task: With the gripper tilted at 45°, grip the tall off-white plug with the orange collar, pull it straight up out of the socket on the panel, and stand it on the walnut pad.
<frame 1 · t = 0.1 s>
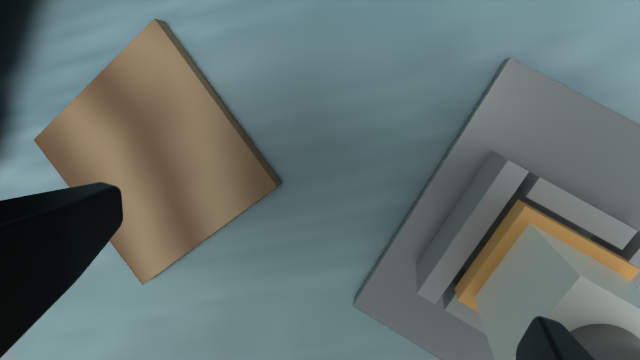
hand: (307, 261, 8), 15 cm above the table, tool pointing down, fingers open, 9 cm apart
socket panel: (510, 239, 22), on the table
pad: (157, 159, 26), on the table
plug: (515, 245, 22), point 1 cm above the table, touching socket panel
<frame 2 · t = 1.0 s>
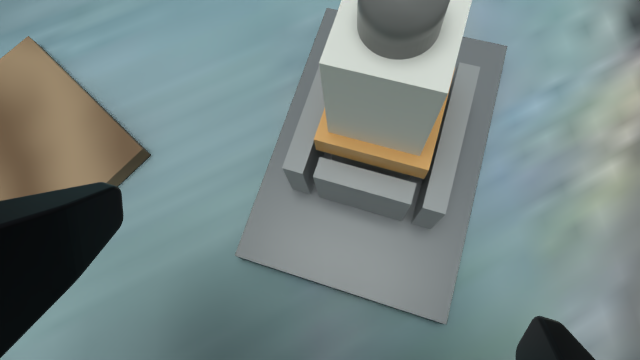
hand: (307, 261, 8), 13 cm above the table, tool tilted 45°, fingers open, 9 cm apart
socket panel: (377, 151, 23), on the table
pad: (15, 163, 25), on the table
plug: (378, 144, 22), point 1 cm above the table, touching socket panel
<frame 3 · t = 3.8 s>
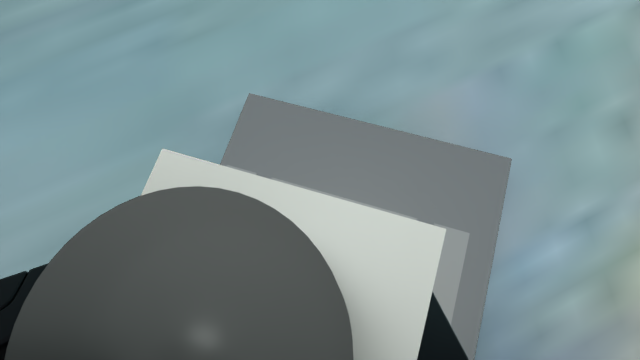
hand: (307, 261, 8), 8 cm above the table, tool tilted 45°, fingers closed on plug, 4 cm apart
socket panel: (316, 321, 15), on the table
plug: (314, 322, 14), point 1 cm above the table, touching gripper, socket panel
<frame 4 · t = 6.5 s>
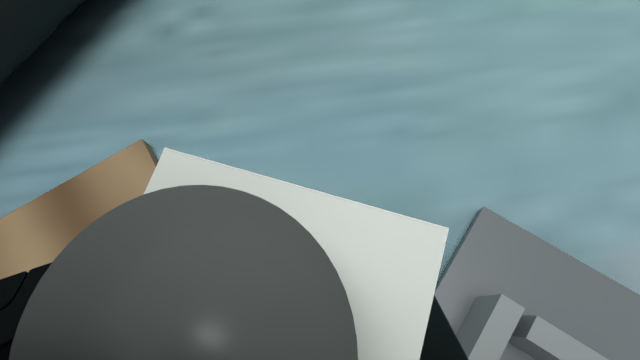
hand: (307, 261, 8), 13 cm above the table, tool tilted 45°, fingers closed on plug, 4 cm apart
pad: (95, 285, 22), on the table
plug: (314, 321, 14), point 7 cm above the table, touching gripper
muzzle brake: (1, 85, 27), on the table
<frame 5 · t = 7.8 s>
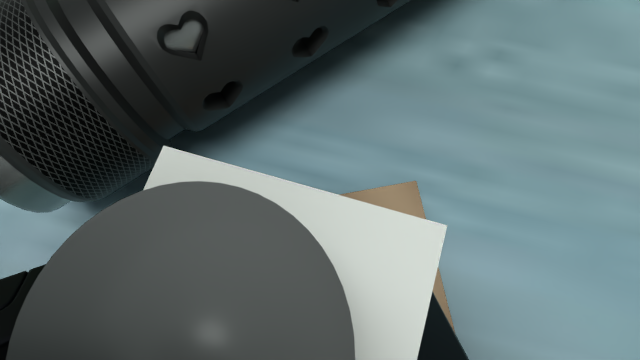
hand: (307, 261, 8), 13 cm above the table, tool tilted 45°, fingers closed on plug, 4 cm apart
pad: (325, 317, 21), on the table
plug: (314, 320, 14), point 7 cm above the table, touching gripper
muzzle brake: (268, 62, 26), on the table
when the fingers open (9 cm above the table, at t = 9.0 s): plug drops 1 cm, resting on pad.
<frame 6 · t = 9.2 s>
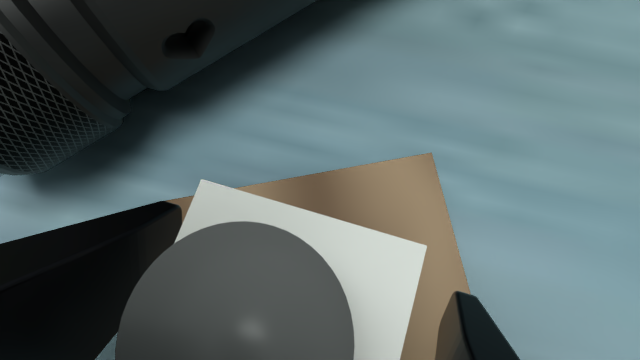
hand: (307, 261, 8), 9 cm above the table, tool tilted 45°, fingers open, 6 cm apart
pad: (319, 320, 17), on the table
plug: (317, 320, 16), point 1 cm above the table, touching pad
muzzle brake: (254, 18, 22), on the table
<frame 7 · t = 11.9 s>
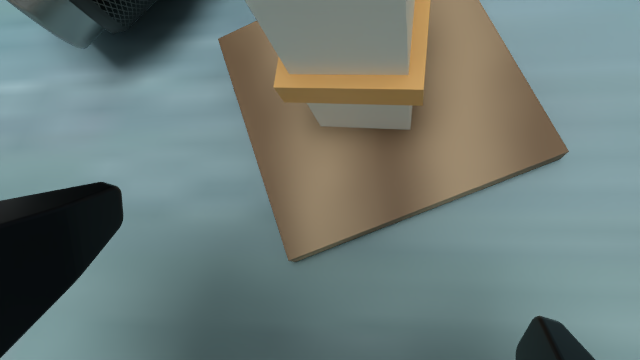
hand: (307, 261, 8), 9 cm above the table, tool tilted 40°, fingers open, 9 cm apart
pad: (371, 96, 19), on the table
plug: (368, 86, 18), point 1 cm above the table, touching pad
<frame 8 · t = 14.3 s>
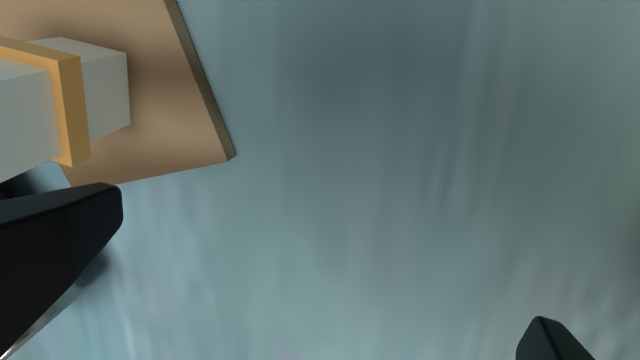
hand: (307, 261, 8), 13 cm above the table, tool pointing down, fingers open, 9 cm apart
pad: (110, 77, 23), on the table
plug: (96, 81, 22), point 1 cm above the table, touching pad
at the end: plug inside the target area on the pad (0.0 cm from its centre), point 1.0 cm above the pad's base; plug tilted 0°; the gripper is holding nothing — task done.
